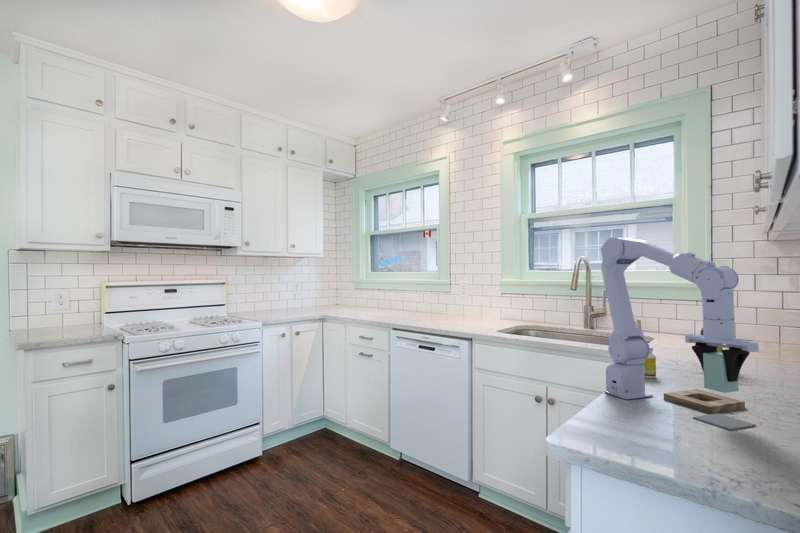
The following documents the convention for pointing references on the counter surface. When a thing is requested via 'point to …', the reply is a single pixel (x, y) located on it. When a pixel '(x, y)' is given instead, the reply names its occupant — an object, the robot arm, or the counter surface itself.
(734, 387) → the peg
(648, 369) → the supplement bottle
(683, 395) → the block
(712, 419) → the rubber mat
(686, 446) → the counter surface
